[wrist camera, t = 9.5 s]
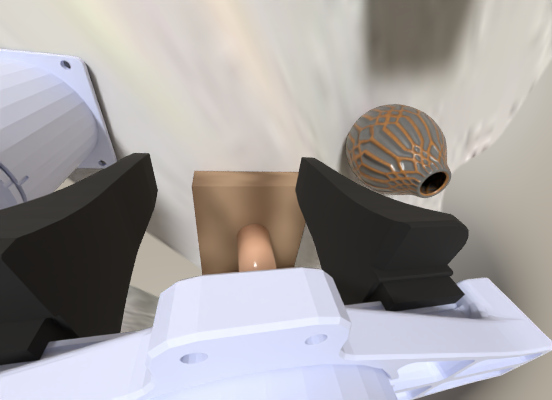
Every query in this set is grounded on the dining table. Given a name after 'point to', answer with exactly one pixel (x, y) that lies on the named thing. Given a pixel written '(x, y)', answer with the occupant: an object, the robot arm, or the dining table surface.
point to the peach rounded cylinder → (255, 249)
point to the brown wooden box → (245, 215)
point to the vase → (399, 152)
